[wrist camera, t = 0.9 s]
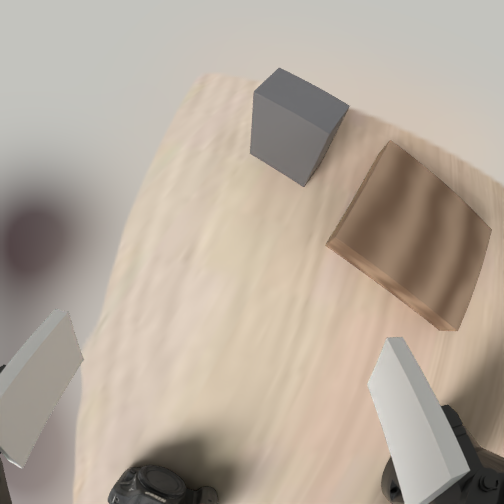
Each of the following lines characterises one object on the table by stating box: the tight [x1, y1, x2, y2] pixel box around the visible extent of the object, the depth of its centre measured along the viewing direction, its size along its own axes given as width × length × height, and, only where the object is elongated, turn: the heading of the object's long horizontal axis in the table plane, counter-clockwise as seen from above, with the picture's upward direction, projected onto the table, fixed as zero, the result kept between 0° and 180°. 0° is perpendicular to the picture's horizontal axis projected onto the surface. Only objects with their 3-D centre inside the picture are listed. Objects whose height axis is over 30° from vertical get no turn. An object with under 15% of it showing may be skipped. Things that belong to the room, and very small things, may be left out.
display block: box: [325, 140, 492, 331], centre depth 33 cm, size 20×16×4 cm
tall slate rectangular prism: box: [250, 68, 349, 187], centre depth 30 cm, size 8×5×12 cm, turn 55°
